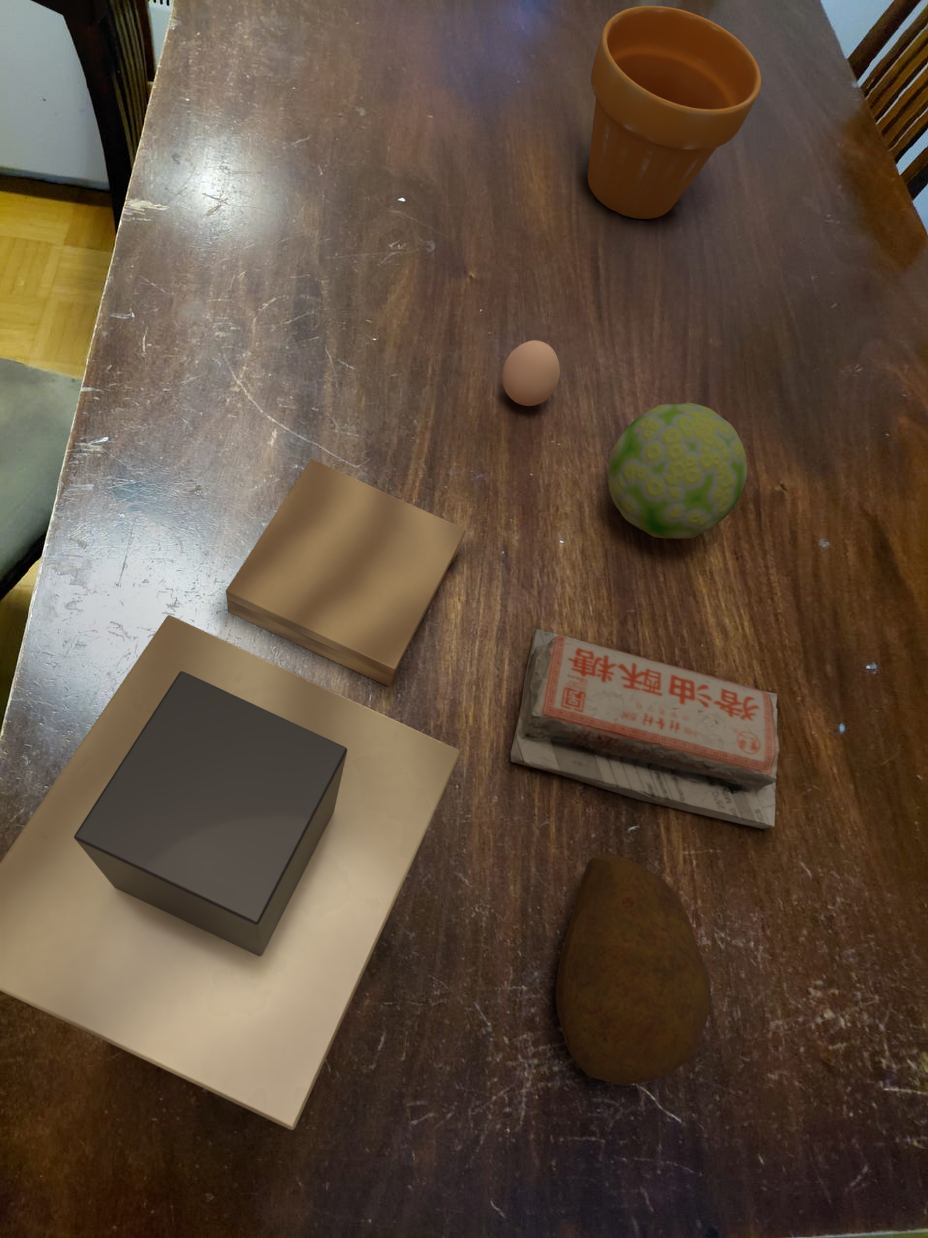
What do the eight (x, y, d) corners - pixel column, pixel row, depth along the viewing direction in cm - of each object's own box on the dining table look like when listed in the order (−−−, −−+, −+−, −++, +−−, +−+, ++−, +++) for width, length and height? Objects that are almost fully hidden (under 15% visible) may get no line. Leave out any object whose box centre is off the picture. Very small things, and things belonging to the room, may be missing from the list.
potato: (696, 905, 58) (761, 878, 50) (661, 1109, 52) (728, 1114, 45) (571, 861, 58) (617, 827, 50) (523, 1061, 52) (565, 1057, 45)
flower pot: (590, 118, 92) (634, -18, 81) (717, 178, 92) (780, 50, 80) (537, 196, 86) (578, 60, 74) (674, 262, 85) (736, 135, 74)
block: (112, 887, 24) (71, 837, 20) (197, 745, 27) (180, 668, 22) (261, 957, 24) (257, 925, 19) (334, 810, 26) (348, 747, 22)
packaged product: (523, 742, 56) (548, 603, 60) (505, 766, 60) (531, 635, 65) (801, 815, 57) (805, 673, 62) (765, 834, 61) (771, 700, 66)
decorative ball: (704, 579, 70) (767, 507, 61) (580, 540, 69) (624, 461, 60) (718, 479, 74) (777, 398, 65) (601, 441, 74) (645, 355, 65)
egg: (496, 415, 73) (512, 366, 68) (495, 372, 75) (511, 321, 70) (550, 421, 74) (570, 373, 69) (548, 379, 76) (567, 329, 71)
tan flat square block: (227, 611, 61) (225, 590, 59) (309, 482, 67) (311, 457, 64) (389, 687, 61) (395, 669, 58) (458, 551, 67) (466, 529, 64)
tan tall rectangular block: (115, 1025, 49) (-67, 959, 23) (219, 839, 55) (167, 612, 28) (283, 1106, 49) (293, 1131, 23) (371, 911, 54) (462, 750, 28)
